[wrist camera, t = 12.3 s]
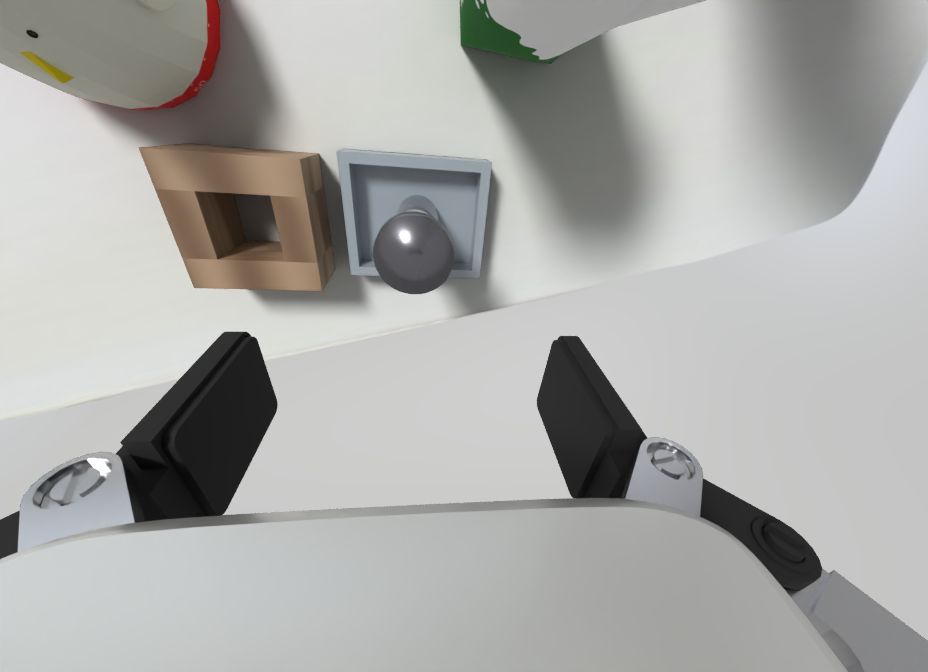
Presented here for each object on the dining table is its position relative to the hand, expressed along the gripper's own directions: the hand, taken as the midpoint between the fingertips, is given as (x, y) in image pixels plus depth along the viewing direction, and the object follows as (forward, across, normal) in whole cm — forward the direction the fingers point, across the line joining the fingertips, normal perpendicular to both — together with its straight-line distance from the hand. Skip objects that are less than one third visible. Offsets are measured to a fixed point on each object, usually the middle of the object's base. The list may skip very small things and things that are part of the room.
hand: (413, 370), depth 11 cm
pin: (+23, 0, +1) cm, 23 cm away
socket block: (+23, +13, +1) cm, 27 cm away
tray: (+23, 0, +1) cm, 23 cm away
